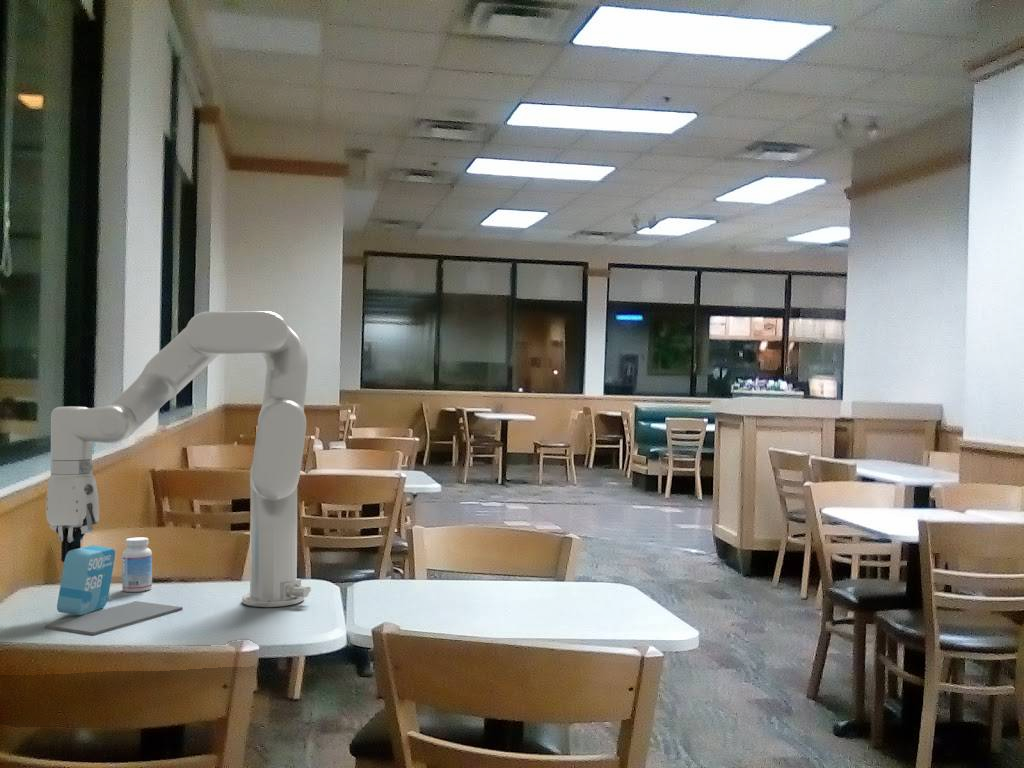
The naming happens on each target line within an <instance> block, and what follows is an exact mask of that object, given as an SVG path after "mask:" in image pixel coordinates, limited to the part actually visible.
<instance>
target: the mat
mask: <svg viewBox="0 0 1024 768" xmlns="http://www.w3.org/2000/svg"><path fill="white" fill-rule="evenodd" d="M179 611H183V606H175V605H169V604H163V603H162V604H161V603H152V602H146V601H139V600H136V601H131V602H128V603H124V604H120V605H116V606H111V607H108V608H104V609H101V610H100V609H99V610H95V611H92V612H89V613H86V614H84V615H76V616H74V617H70V618H66V619H63V620H57V621H53V622H50V623H47V624H44V628H45V629H51V630H59V631H64V632H71V633H78V634H84V635H91V636H96V635H100V634H102V633H106V632H109V631H113V630H115V629H116V630H117V629H121V628H123V627H124V628H125V627H127V626H130V625H134V624H138V623H141V622H144V621H148V620H151V619H155V618H159V617H163V616H166V615H169V614H172V613H176V612H179Z"/></svg>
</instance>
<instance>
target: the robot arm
mask: <svg viewBox="0 0 1024 768" xmlns="http://www.w3.org/2000/svg"><path fill="white" fill-rule="evenodd" d="M220 354H221V355H226V354H227V355H228V354H229V355H231V354H232V355H233V354H234V355H236V354H238V355H239V354H261V355H262V356H263V358H264V360H265V362H266V363H265V365H266V371H265V373H266V375H265V382H264V389H263V390H264V391H263V398H262V403H261V408H260V410H259V414H258V417H257V427H256V437H255V443H254V450H253V451H254V452H253V457H252V458H253V459H252V464H251V466H250V472H249V483H250V485H249V486H250V518H249V520H250V521H249V522H250V527H249V529H250V530H249V538H250V539H249V542H250V544H249V593H248V592H247V593H246V594H244V595H242V597H241V602H242V603H243V605H245V606H249V607H255V608H280V607H287V606H293V605H296V604H299V603H301V602H303V601H304V600H305V598H307V597H309V595H310V593H311V590H312V588H311V587H310V586H306V585H302V579H301V578H297V577H298V570H297V569H298V484H299V481H300V477H301V469H302V463H303V456H304V449H305V448H304V447H305V442H306V434H307V417H306V413H305V403H306V395H307V384H308V373H309V372H308V370H309V364H308V355H307V351H306V349H305V346H304V344H303V342H302V340H301V339H300V337H299V336H298V334H297V333H296V332H295V331H294V330H293V329H292V328H291V327H290V326H289V325H288V323H287V322H286V320H285V319H284V318H283V316H281V315H279V314H278V313H276V312H273V311H269V310H251V311H250V310H249V311H248V310H247V311H242V310H241V311H201V312H198V313H197V314H195V315H194V316H193V317H191V319H190V320H188V323H187V324H186V327H185V328H183V329H182V330H181V331H180V332H179V333H178V334H177V335H175V337H174V338H173V339H171V340H170V341H169V342H168V344H166V345H165V346H163V348H162V349H160V350H159V352H157V354H155V355H154V356H153V357H151V358H150V360H149V361H148V362H147V363H146V365H145V366H144V367H143V370H142V371H141V373H140V375H139V376H138V377H137V378H136V379H135V380H134V382H133V383H131V385H130V386H129V387H128V388H126V390H124V392H123V393H121V394H119V396H118V397H117V398H116V399H115V400H113V401H112V402H111V403H110V404H109V405H107V406H106V405H105V406H100V407H87V406H74V405H73V406H57V407H54V408H53V409H52V411H51V414H50V475H49V479H48V484H47V489H46V490H47V492H46V500H45V501H46V504H45V516H46V522H47V523H48V524H49V529H50V530H51V531H54V532H56V534H57V535H58V539H59V541H60V542H61V543H60V544H61V548H60V549H61V552H60V553H61V558H60V560H61V562H62V563H64V561H65V557H66V554H67V553H68V552H69V551H70V550H74V549H79V548H82V547H81V544H82V543H81V541H83V540H84V536H85V535H86V534H88V533H89V534H90V533H93V532H94V528H93V527H94V526H93V525H97V524H98V523H99V522H100V521H99V520H100V510H99V509H100V505H99V492H98V486H97V481H96V477H95V475H93V470H94V465H93V443H101V444H112V445H113V444H118V443H119V442H122V441H125V440H126V439H129V437H131V436H132V435H133V434H134V433H135V432H136V431H138V429H139V428H140V427H142V426H143V425H144V424H145V423H146V422H147V421H148V420H149V419H150V418H152V416H153V415H155V414H156V413H157V412H158V411H159V410H160V409H161V408H162V407H163V406H164V405H165V404H166V403H167V402H168V401H170V400H171V399H173V398H174V397H176V396H177V395H178V394H179V393H180V392H181V391H182V390H183V389H184V388H185V387H186V386H187V385H188V384H189V383H191V381H193V379H194V378H196V377H197V376H198V375H199V373H200V374H201V372H202V371H203V370H204V369H205V368H206V367H207V366H208V365H210V364H211V363H212V362H214V360H215V359H216V358H217V357H218V356H219V355H220Z"/></svg>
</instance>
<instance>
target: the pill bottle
mask: <svg viewBox="0 0 1024 768" xmlns="http://www.w3.org/2000/svg"><path fill="white" fill-rule="evenodd" d="M148 546H149V538H148V537H144V536H143V537H142V536H141V537H140V536H139V537H137V536H136V537H129V538H126V539H125V547H126V549H124V550H123V552H122V559H121V561H122V563H121V564H122V567H121V568H122V571H121V572H122V573H121V575H122V582H121V583H122V587H121V588H122V591H123V592H126V593H142V592H146V591H149V590H151V589H152V587H153V553H152V550H151V549H150V548H149V547H148ZM150 588H151V589H150ZM145 590H146V591H145Z"/></svg>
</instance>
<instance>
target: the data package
mask: <svg viewBox="0 0 1024 768" xmlns="http://www.w3.org/2000/svg"><path fill="white" fill-rule="evenodd" d="M115 558H116V551H115V548H113V547H105V546H100V545H99V546H98V545H93V544H92V545H90V546H89V545H88V546H83V547H81V548H79V549H74V550H70V551H69V552H68V553H67V554H66V557H65V561H64V562H63V567H62V568H63V569H62V575H61V579H60V585H59V592H58V597H57V603H56V611H57V612H58V613H63V614H69V615H75V616H81V615H85V614H88V613H92V612H96V611H99V610H100V609H103V608H104V607H106V606H107V603H108V599H109V594H110V590H111V589H110V588H111V582H112V575H113V571H114V570H113V569H114V564H115Z"/></svg>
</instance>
